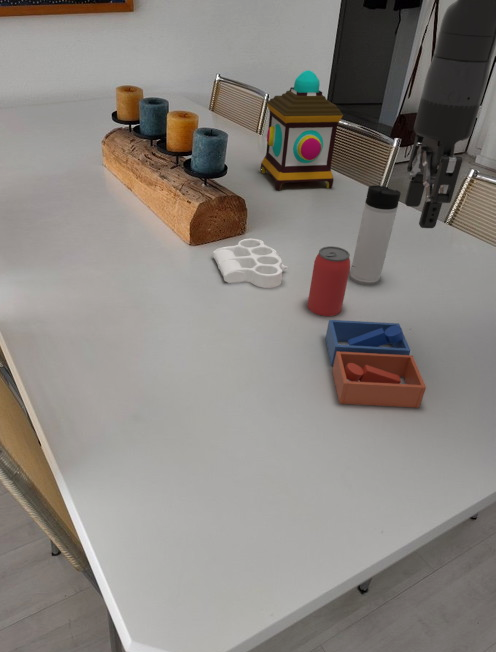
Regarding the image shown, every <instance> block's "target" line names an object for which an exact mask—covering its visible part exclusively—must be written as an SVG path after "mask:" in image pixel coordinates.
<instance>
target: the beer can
mask: <svg viewBox="0 0 496 652" xmlns="http://www.w3.org/2000/svg"><path fill="white" fill-rule="evenodd" d="M350 256H351V254H350V252H349V251H348V250H346V248H342V247H340V246H324V247H321V248H320V249H319V250H318V254H317V255H316V257H315V259H314V261H313V268H312V275H311V279H310V285H309V286H310V287H309V292H308V297H307V299H308V300H307V308H308V310H309V311H310V312H311V313H313V314H315V315H318V316H321V317H334V316H337V315H338V314H340V313H341V311H342V309H343V304H344V299H345V295H346V290H347V285H348V281H349V277H350V272H351V260H350V259H351V258H350Z"/></svg>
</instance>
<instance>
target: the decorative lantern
mask: <svg viewBox="0 0 496 652" xmlns="http://www.w3.org/2000/svg"><path fill="white" fill-rule="evenodd" d="M320 84H321V83H320V79H319V78H318V76H317V75H316V73H315V72H314V71H312V70H309V69H307V70H304V71H302V72H301V73H300V74H299V75H298V76H297V77H296V78H295V80H294V83H293V86H291V87H290V88H289V90H286V92H285V93H282V94H281V95H274V96H273V97H272V98H270V99H269V100H268V101H266V103H267V104H266V105H267V108H268V111H269V118H268V120H269V121H268V129H267V134H266V151H265V156H264V157H263V159H262V161H261V162H260V173H261V174H266V172H267V173H268V174H269V175H270V177H271V178H273V180H274V181H275V191H277V192H280V191H281V190H282V189H281V188H282V187H283V186H282V185H283V184H288V183H289V184H290V183H312V182H313V183H314V182H326V189H329V190H330V189H331V190H332V188H333V185H334V176H333V172H332V162H333V161H332V160H333V155H334V149H335V142H336V136H337V130H338V126H339V123H340V121H341V120H342V118H343V116H344V114H343V113H342V112H341V111H342V110H341V109H340V108H338V105H336V104H335V103H333V102H331V101H329V100H328V99H327V98H326V96H325V95H323V91H321V90H320ZM261 169H262V170H261Z"/></svg>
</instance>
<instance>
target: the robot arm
mask: <svg viewBox="0 0 496 652" xmlns="http://www.w3.org/2000/svg"><path fill="white" fill-rule="evenodd" d="M495 51H496V0H456V1H453V2H452V3H450V4H449V6H448V7H447V8H446V10H445V12H444V14H443V17H442V20H441V23H440V27H439V31H438V35H437V39H436V43H435V47H434V51H433V56H432V59H431V61H430V65H429V67H428V70H427V73H426V76H425V79H424V84H423V87H422V92H421V96H420V99H419V103H418V104H419V105H418V108H417V112H416V116H415V117H416V118H415V121H414V125H413V131H414V133H415V138H414V141H413V146H412V149H411V153H410V157H409V161H408V164H407V166H406V171H407V173H409V174H408V178H409V183H408V188H407V192H406V196H405V199H404V204H405V206H406V207H415V208H417V207H419V206H420V205H421V203H422V198H423V195H424V192H425V200H424V203H423V206H422V210H421V214H420V217H419V221H418V225H419V227H420V228H422V229H434V228H435V227H436V226H437V222H438V219H439V215H440V212H441V209H442V205H443V204H450V203H451V202H452V200H453V196H454V192H455V189H456V185H457V181H458V178H459V174H460V171H461V168H462V163H463V157H462V156H457V155H456V156H455V147H456V144H457V143H459V142H460V141H462V142H463V141H466V140H467V139H469V138H470V137H471V135H472V133H473V130H474V126H475V123H476V120H477V117H478V113H479V110H480V107H481V104H482V100H483V97H484V94H485V91H486V88H487V83H488V79H489V74H490V68H491V64H492V60H493V57H494V54H495Z"/></svg>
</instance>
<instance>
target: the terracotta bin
mask: <svg viewBox="0 0 496 652" xmlns="http://www.w3.org/2000/svg"><path fill="white" fill-rule="evenodd" d="M348 363H354V364H356V365H358V366H360V367H361V368H362V369H363V367H364V366H365V365H368V366H371V367H374V368H377V369H381V370H384V371H387V372H390V373H393V374H396V375H399V377H400V378H404V382H405V383H404V384H403V383H400V384H391V383H372V382H360V381H358V382H354V381H349V380H348V379H347V378H346V374H345V370H344V369H345V367H346V366H347V364H348ZM331 371H332V376H333V381H334V385H335V391H336V395H337V400H338V404H341V405H342V404H343V405H359V406H360V405H361V406H362V405H363V406H380V407H382V406H383V407H396V408H397V407H398V408H416V409H418V408H420V407H421V404H422V401H423V398H424V395H425V392H426V390H427V386H426V383H425V381H424V379H423V376H422V375H421V372H420V369H419V366H418V365H417V363H416V360H415V358H414V355H412V354H411V355H410V354H409V355H395V354H376V353H357V352H338V351H337V352H336V356H335V361H334V365H333V366H332V370H331Z"/></svg>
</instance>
